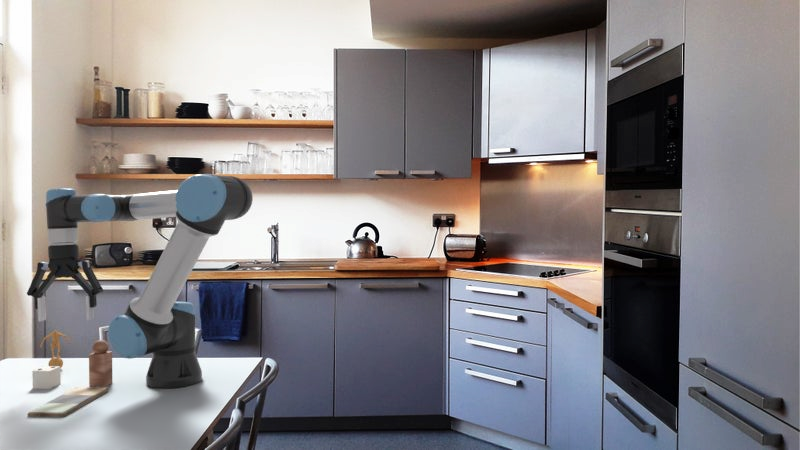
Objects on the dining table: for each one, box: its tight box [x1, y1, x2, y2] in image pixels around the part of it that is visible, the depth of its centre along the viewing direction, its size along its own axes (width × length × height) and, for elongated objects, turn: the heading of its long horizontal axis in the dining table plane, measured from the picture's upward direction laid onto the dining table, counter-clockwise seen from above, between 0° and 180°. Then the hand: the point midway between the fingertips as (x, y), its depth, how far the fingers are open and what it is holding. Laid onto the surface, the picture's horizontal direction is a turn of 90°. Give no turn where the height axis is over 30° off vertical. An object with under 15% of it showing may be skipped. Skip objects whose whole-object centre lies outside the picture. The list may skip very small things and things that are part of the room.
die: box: [31, 365, 62, 390], centre depth 182 cm, size 5×5×5 cm
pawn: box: [88, 339, 113, 388], centre depth 183 cm, size 4×4×13 cm
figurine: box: [39, 329, 71, 369], centre depth 200 cm, size 8×6×12 cm
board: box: [27, 386, 109, 418], centre depth 165 cm, size 9×21×1 cm, turn 177°
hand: (66, 320), depth 181 cm, fingers open, 13 cm apart
